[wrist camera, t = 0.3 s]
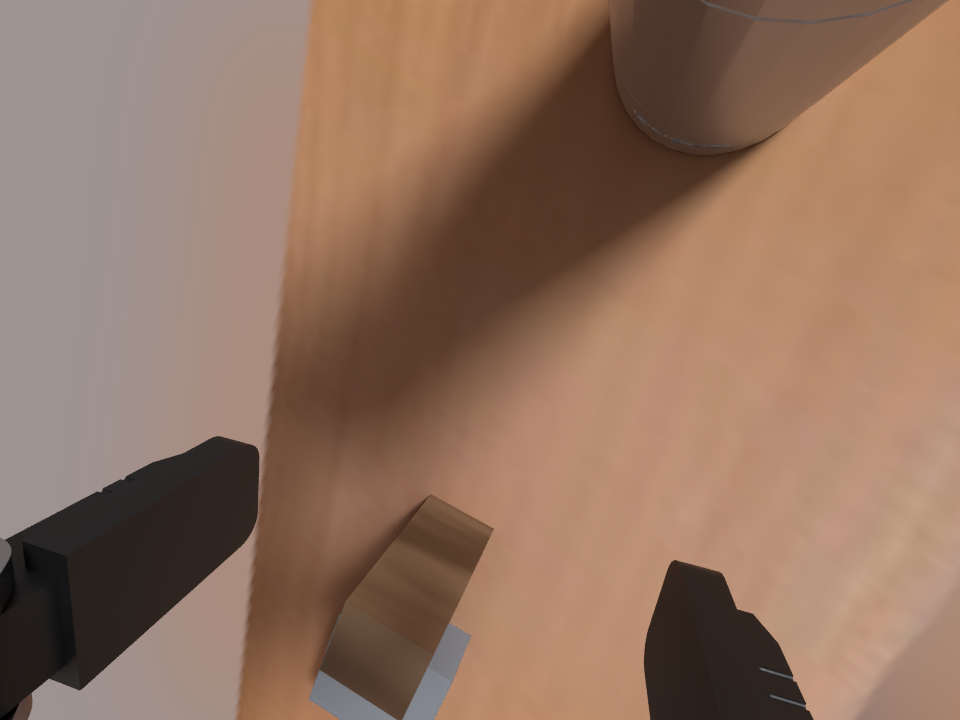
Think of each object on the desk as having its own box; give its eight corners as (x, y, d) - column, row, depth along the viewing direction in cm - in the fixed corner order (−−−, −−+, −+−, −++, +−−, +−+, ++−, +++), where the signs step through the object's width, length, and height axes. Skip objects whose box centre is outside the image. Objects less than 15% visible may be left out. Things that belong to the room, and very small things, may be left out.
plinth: (370, 574, 34) (339, 614, 30) (472, 632, 33) (452, 682, 29) (341, 652, 37) (308, 699, 33) (434, 710, 35) (411, 765, 31)
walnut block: (430, 494, 31) (345, 601, 22) (493, 528, 30) (433, 655, 21) (408, 548, 32) (319, 669, 23) (468, 582, 32) (401, 722, 22)
